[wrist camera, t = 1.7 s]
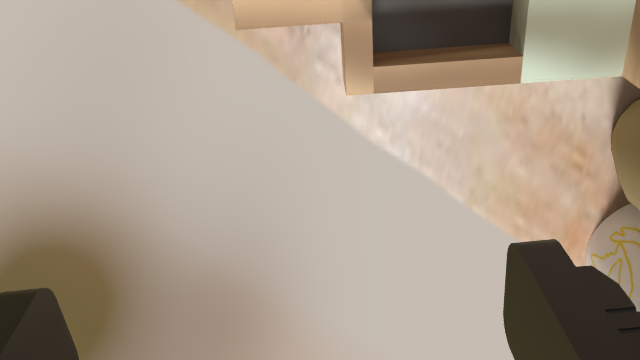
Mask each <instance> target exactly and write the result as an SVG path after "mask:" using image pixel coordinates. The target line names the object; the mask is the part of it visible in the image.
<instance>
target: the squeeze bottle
mask: <svg viewBox="0 0 640 360" xmlns="http://www.w3.org/2000/svg"><path fill="white" fill-rule="evenodd" d="M611 150H612V154H613V159H614V163H615V167H616V172H617V176H618V180H619V183H620V185H621V187H622V189H623V191H624V194H625V196H626V198H627V200H628V201H629V202H630V203H632V204H633V205H634V206H635V207H636V208H638V209H639V210H640V99H638V100H636V101H634V102H633V103H632V104H631V105H630V106H629V107H628V109H627V110H626V111H625V112H624V113H623V114H622V115H621V116H620V117H619V119H618V122H617V124H616V126H615V128H614V130H613V132H612V144H611Z"/></svg>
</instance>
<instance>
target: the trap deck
mask: <svg viewBox="0 0 640 360" xmlns="http://www.w3.org/2000/svg"><path fill="white" fill-rule="evenodd" d="M232 3H233V10H234V18H235V25H236V30H243V29H257V28H271V27H285V26H299V25H312V24H326V23H340V24H341V45H342V65H343V80H344V85H345V91H346V96H347V95H361V94H375V93H389V92H404V91H418V90H432V89H446V88H460V87H474V86H488V85H503V84H517V83H531V82H545V81H559V80H573V79H588V78H602V77H616V76H622V77H624V78H625V79H627V80H628V81H629V82H631V83H632V84H633V85H635V86H636V87H638V88H639V89H640V0H232Z"/></svg>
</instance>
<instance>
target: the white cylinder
mask: <svg viewBox="0 0 640 360" xmlns="http://www.w3.org/2000/svg"><path fill="white" fill-rule="evenodd" d="M585 261H586V266H591V265H592V266H593V267H595V268H596V269H598V270H599V271H601V272H602V273H604V274H605V275H607V276H608V277H610V278H611V279H613V280H614V281H615V282H617V283H618V284H619V285H620V286H621V287H622V289H623V290H624V291H625V293H626V294H627V295H628V297H629V298H630V299H631V301H632V302H633V303H634V305H635V306H636V311H637V312H638V311H640V210H639V209H638V208H636V207H635V206H634V205H633V204H632V203H630V204H628V205H626V206H624V207H622V208H620V209H618V210H617V211H615V212H614V213H612V214H611V215H610V216H608V217H607V218H606V219H605V220H604V221H603V222H602V223H601V224H600V225H599V226H598V227H597V229H596V230H595V231H594V233H593V234H592V236H591V238H590V240H589V242H588V245H587V249H586V255H585Z"/></svg>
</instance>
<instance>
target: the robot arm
mask: <svg viewBox="0 0 640 360" xmlns="http://www.w3.org/2000/svg"><path fill="white" fill-rule="evenodd" d="M504 295H505V296H504V309H503V310H504V311H503V315H504V316H503V317H504V327H505V333H506V337H507V341H508V344H509V347H510V350H511V352H512V354H513V356H514V359H515V360H640V311H638V312H637V311H636V306H635V305H634V303H633V302H632V301H631V299H630V298H629V297H628V295H627V294H626V293H625V291H624V290H623V289H622V287H621V286H620V285H619V284H618V283H617V282H615V281H614V280H613V279H611V278H610V277H608V276H607V275H605V274H604V273H602V272H601V271H599V270H598V269H596V268H595V267H593V266H592V265H591V266H581V267H576V266H575V265H574V263H573V262H572V260H571V259H570V258H569V256H568V255H567V253H566V252H565V250H564V249H563V247H562V246H561V244H560V243H559V242H558V241H557V240H555V239H551V240H540V241H530V242H520V243H511V244H510V245H509V248H508V252H507V264H506V279H505V294H504ZM0 360H79V358H78V353H77V350H76V347H75V345H74V342H73V340H72V337H71V334H70V332H69V329H68V327H67V324H66V322H65V319H64V317H63V314H62V312H61V309H60V307H59V304H58V302H57V299H56V297H55V295H54V293H53V292H52V291H51V290H50V289H48V288H38V289H28V290H18V291H7V292H2V293H0Z"/></svg>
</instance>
